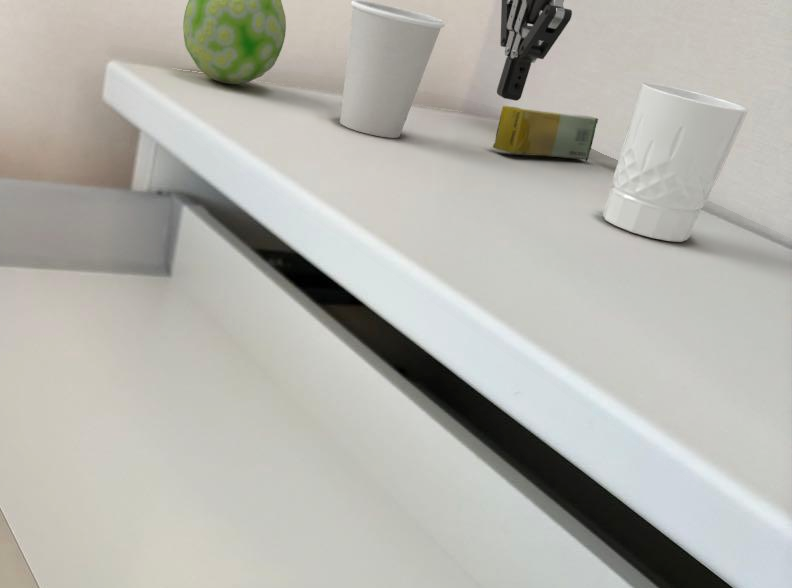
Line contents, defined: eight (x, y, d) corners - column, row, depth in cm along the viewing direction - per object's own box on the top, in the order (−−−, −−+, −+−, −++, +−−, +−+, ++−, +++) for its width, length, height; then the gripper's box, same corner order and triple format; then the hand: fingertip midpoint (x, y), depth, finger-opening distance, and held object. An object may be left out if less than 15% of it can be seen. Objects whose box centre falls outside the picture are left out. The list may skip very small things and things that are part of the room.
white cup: (671, 223, 90) (721, 97, 85) (710, 252, 84) (767, 116, 79) (582, 206, 89) (627, 76, 84) (614, 233, 82) (666, 94, 77)
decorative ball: (292, 100, 105) (315, -14, 100) (198, 88, 101) (218, -32, 96) (247, 77, 112) (267, -31, 107) (158, 64, 108) (175, -49, 103)
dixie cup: (308, 118, 99) (334, -3, 94) (352, 114, 105) (378, 1, 100) (389, 144, 96) (420, 20, 90) (428, 139, 102) (460, 23, 97)
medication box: (567, 155, 111) (578, 114, 109) (589, 161, 109) (601, 118, 107) (490, 148, 103) (501, 103, 102) (513, 153, 102) (524, 108, 100)
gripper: (630, -77, 101) (565, 118, 110) (571, -86, 112) (516, 92, 120) (556, -96, 99) (497, 104, 108) (504, -103, 110) (453, 79, 119)
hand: (507, 97), depth 114 cm, fingers closed
